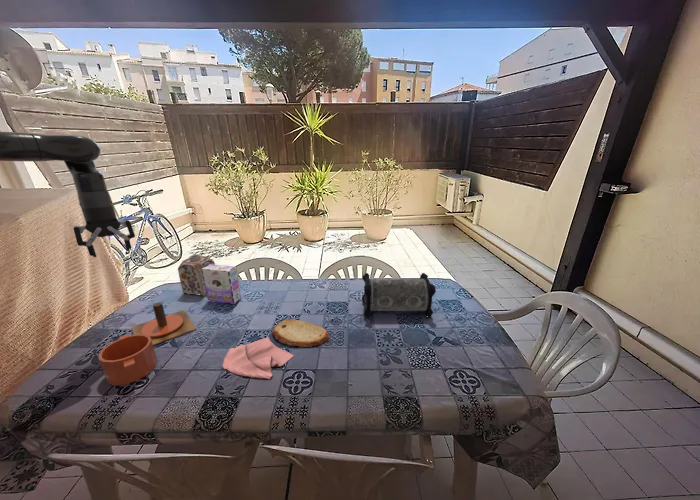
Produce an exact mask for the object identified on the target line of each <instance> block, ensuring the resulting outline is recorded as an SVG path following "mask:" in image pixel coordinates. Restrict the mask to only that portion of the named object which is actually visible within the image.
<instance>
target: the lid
mask: <svg viewBox="0 0 700 500" xmlns="http://www.w3.org/2000/svg"><path fill="white" fill-rule="evenodd" d="M151 306H152V310H153V313H154V317H155V318H154V319H155V320H154V319H151V320H152V321H151V320H149V321H150V322H149V323H147V324H146V325H145V326H144V327H143V328H142V330H141V333H142V334H145V335H148V336H150V337H159V336H163V335H166V334H169V333H171V332H173V331H175V330H177V329H178V328H179V327H180V326H181V325H182V324H183V318H182V317H181V316H177V315H170V314H168V315H169V316H167V315H166V312H165V309H164V305H163V302H161V301H159V302H155V303H153V304H152V305H151Z"/></svg>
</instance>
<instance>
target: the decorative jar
mask: <svg viewBox="0 0 700 500" xmlns="http://www.w3.org/2000/svg"><path fill="white" fill-rule="evenodd" d="M210 264H213V265H216V263H215V261H214V260H213V259H212V258H210V257H209V256H205V255H201V254H192V255H190V256H188V258H186V259H184V260H182V261H181V263H180V264H179V266H178V267H177V271H178V278H179V282H180V286H181V291H182V294H183V293H187V294H186V295H190V294H200V295H205V294H206V288H205V283H204V279H203V274H202V268H204V267H206V266H208V265H210ZM200 295H199V296H200ZM206 295H207V294H206ZM206 295H205V296H206Z"/></svg>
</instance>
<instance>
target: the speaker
mask: <svg viewBox="0 0 700 500" xmlns="http://www.w3.org/2000/svg"><path fill="white" fill-rule="evenodd" d="M362 280H363V282H364V286H363V290H364V293H363V295H362V297H361V303H363V305H364V308H365V310H364V312H363V316H364V317H365V318H366V319H369V318H370V317H371V314H372V312H424V316H425V315H426V316H428V317H429V318H431V317H432V316H433V314H434V311H433V309H432V304H433V297H434V296H435V294H436V293H437V291H436V285H434V284H433V283H431V282H430V280H429V275H428V274H427V273H425V272H421V274H420V276H419V278H370V274H369V273H368V272H366V273H364V274H363V275H362ZM426 316H425V317H426Z"/></svg>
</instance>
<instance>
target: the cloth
mask: <svg viewBox="0 0 700 500" xmlns="http://www.w3.org/2000/svg"><path fill="white" fill-rule="evenodd" d="M293 357H295V355H294V354H293V353H290V352H288V351H286V350H284V349H282V348H280V347H279V346H276V345H275V344H274V343H273V342H272V341H271V339H270V337H269V336H268V337H265V338H261V339H259V340H256V341H252V342H250V343H246V344H240V345H238V346H236V347H231V348H229V349H228V351H227V353H226V354H225V357H224V358H223V362H222V366H221V367H222V369H223V370H227V372H230V373H232V374H235V375H237V376H242V377H245V378H248V377H249V378H252V379H253V378H254V379H266V380H267V379H268V380H271V378H272V377H273V373H272V368H275V367H276V368H280V367H282V366H284V365H285V364H286V363H288V362H289V361H290V360H292V358H293Z"/></svg>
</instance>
